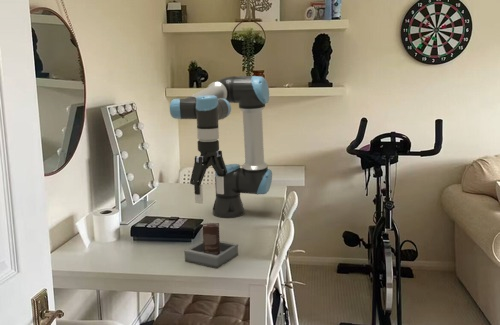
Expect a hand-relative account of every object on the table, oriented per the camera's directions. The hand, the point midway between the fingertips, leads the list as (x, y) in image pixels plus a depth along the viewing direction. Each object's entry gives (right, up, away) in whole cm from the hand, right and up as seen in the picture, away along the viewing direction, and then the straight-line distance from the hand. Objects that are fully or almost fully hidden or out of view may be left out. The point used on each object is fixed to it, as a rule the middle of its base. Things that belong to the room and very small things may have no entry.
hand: (210, 198), depth 179 cm
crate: (0, -22, +4) cm, 23 cm away
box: (0, -22, +4) cm, 22 cm away
